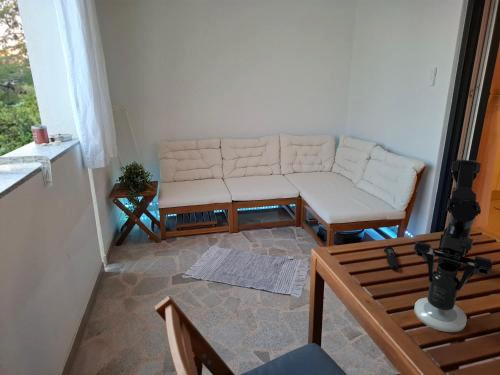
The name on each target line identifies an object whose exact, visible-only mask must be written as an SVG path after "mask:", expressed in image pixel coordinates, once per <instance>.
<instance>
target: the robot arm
mask: <svg viewBox="0 0 500 375" xmlns="http://www.w3.org/2000/svg"><path fill="white" fill-rule="evenodd" d="M451 162H452V164H451V168H450V169H451V171H450V172H451V173H452V179H453V181H454V183H455V189H454V190H453V191H452V192H451V196H450V197H451V198H448V200H447V206H446V212H447V213H449V214H450V215H449V219H448V220H449V221H448V224H447V226H446V227H445V228H444V230H443V232H442V233H443V234H442V233H441V234H440V237H439V244H438V249H435V248H432V244H430V243H427V242H422V241H417V242H415V244H414V246H413V251H414V255H416V256H418V257H421V258H423V260H424V261H425V262H426V263H427V270H428V272H427V273H428V281H429V283H430V282H431V278H432V273H433V272H434V271H435V270H434V269H435V263H437V264H439V263H449V264H452V265H454V266H456V267H457V269H458V270H462V269H464V272H463V274H462V276H461V278H460V280H459V281H460V283H459V286H458V292H460V291H461V290H462V289H463V288H464V286H465V285H466V283H467V282H468V281H469V279H471V278H472V277H474V275H476V276H479V275H480V274H483V275H486V276H490V275H491V273H492V267H493V263H494V262H493V260H492V259H490V258H486V257H482V256H479V255H475V257H474V259H473V258H469V257H465V256H466V255H467V254H469V251H472V248H473V243H474V239H473V238H470V233H471V232H472V231H471V230H472V226H473V224H474V222H475V219H476V217H478V215H481V213H482V212H481V211H482V208H481V205H480V203H479V201H477V193H475V191H473V185H474V184H473V182H474V181H475V180H476V178H477V175H480V173H481V167H482V162H477V160H470V159H459V158H458V159H456V160H453V161H451ZM435 257H436V258H438V259H435ZM462 264H463V265H465V266H463V265H462ZM464 267H465V268H464Z"/></svg>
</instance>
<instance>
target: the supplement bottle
mask: <svg viewBox="0 0 500 375" xmlns="http://www.w3.org/2000/svg"><path fill="white" fill-rule="evenodd" d="M458 271H459V269H457V267H456V266H454V265H452V264H449V263H437V267H436V270H434V271H433V273H432V278H431V282H429V288H428V291H427V292H428V293H427V297H426V298H427V299H428V302H429V303H430V304H431V305H432V306H433V307H435V308H438V309H440V310H451V309H453V308H454V306H455V305H456V301H457V297H458V292H459V291H458V286H459V283H460V281H461V280H460V279H459V278H458Z"/></svg>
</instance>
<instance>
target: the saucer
mask: <svg viewBox="0 0 500 375" xmlns="http://www.w3.org/2000/svg"><path fill="white" fill-rule="evenodd" d="M413 308H414V309H413V310H414V315H415V316H416V317H417V319H418V320H419V321H420V322H421V323H423V324H424V325H426V326H428V327H430V328H431V329H434V330H437V331H440V332H445V333H446V332H447V333H456V332H461V331H463V330H464V329H465V328H466V326H467V322H468V319H467V318H468V317H467V315H466V313H465V312H464V311H463V309H461V308H460V307H459V306H457V305H456V304H455V306H454V308H453V309H451V310H440V309H438V308H435V307H433V306H432V305H431V304H430V303H429V302H428V299H427V297H422V298H420V299H418V300H417V301H416V302H415V303H414V307H413Z"/></svg>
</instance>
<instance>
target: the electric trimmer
mask: <svg viewBox="0 0 500 375" xmlns="http://www.w3.org/2000/svg"><path fill="white" fill-rule="evenodd" d="M383 252H384V253H386V262H387V264H388V266H389V268H390V269H391V270H399V265H398V264H399V262H398V260H397V257H396V253H395V249H394V248H393V247H392V246H386V247H384V249H383Z"/></svg>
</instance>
